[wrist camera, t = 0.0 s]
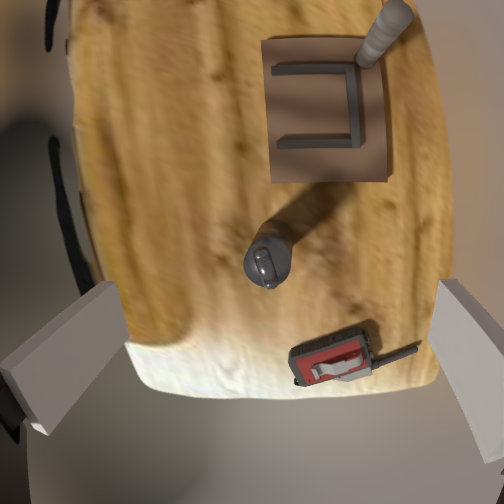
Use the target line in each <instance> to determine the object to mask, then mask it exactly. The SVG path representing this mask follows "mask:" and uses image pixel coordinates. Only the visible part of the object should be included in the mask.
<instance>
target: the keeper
mask: <svg viewBox="0 0 504 504" xmlns="http://www.w3.org/2000/svg"><path fill="white" fill-rule="evenodd" d="M381 1H382V5H383V8H382V10H381V11H380V13H379V15H378V16H377V18H376V20H375V22H374V23H373V25H372V27H371V28H370V30H369V32H368V33H367V35H366V37H365V39H357V38H324V37H318V38H284V39H269V40H261V50H262V62H263V74H264V87H265V100H266V114H267V128H268V143H269V158H270V174H271V184H274V183H306V182H388V178H387V139H386V121H385V108H384V96H383V86H382V77H381V69H380V61H379V58H380V57H381V56H382V54H383V53H384V52H385V51H386V50H387V49H388V48H389V47H390V45H391V44H392V43H393V42H394V41H395V40H396V39H397V38H398V37H399V35H400V34H401V33H402V32H403V31H404V30H405V29H406V28H407V27H408V25H409V24H410V23H411V22H412V21H413V19H414V13H413V11H412V9H411V8H410V6H409V5H407V4H406V3H405V2H403V0H381Z"/></svg>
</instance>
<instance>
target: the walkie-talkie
mask: <svg viewBox="0 0 504 504" xmlns="http://www.w3.org/2000/svg"><path fill="white" fill-rule="evenodd" d="M366 344H367V345H368V346H369V345H371V342H370V339H369V335H368V332H364V335H363V334H362V331H361V328H360V327H358V326H356V327H354V328H351V329H348V330H345V331H342V332H340V333H337V334H334V335H331V336H329V337H325V338H324V339H323V338H322V339H321V340H320V339H319V340H318V341H315V342H312V343H308V344H305V345H301V346H298V347H294V348H291V350H290V352H289V359H288V363H289V366H290V368H291V370H292V372H293V374H294V376H295V379H294V384H295V385H297V386H303V387H306V386H310V385H314V384H317V383H321V382H324V381H327V380H331V379H333V380H339V381H345V382H350V381H353V380H356V379H359V378H362V377H365V376H370V375H372V370H374V369H377V368H379V367H380V366H382V365H385V364H388V363H390V362H393V361H396V360H398V359H401V358H403V357H406V356H408V355H411V354H413V353H416V352H417V351H418V348H417V347H416V346H414V347H411V348H409V349H406V350H404V351H401V352H399V353H396V354H394V355H391V356H388V357H386V358H383V359H380V360H375V361H372V362H371V358H373V357H374V356H373V353H372V352H368V349H367V346H366ZM297 381H298V382H297Z"/></svg>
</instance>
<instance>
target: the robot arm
mask: <svg viewBox="0 0 504 504" xmlns="http://www.w3.org/2000/svg"><path fill="white" fill-rule="evenodd" d="M129 337H130V334H129V331H128V327H127V324H126V320H125V316H124V313H123V309H122V305H121V301H120V297H119V293H118V289H117V285H116V282H112V281H102V282H100V283H99V284H98V285H96V286H95V287H94V288H92V289H91V290H90V291H88V292H87V293H86V294H85V295H83V296H82V297H81V298H79V299H78V300H77V301H75V302H74V303H73V304H72V305H70V306H69V307H68V308H66V309H65V310H64V311H63V312H61V313H60V314H59V315H58V316H56V317H55V318H54V319H53V320H51V321H50V322H49V323H48V324H46V325H45V326H44V327H43V328H41V329H40V330H39V331H38V332H37V333H35V334H34V335H33V336H32V337H31V338H29V339H28V340H27V341H26V342H25V343H23V344H22V345H21V346H20V347H19V348H18V349H16V350H15V351H14V352H13V353H12V354H11V355H9V356H8V357H7V358H6V359H5V360H4V361H2V362H1V363H0V504H31V498H30V489H29V479H28V464H27V430H26V426H25V424H24V423H23V420H24V419H25V418H26V417H27V418H28V420H29V421H30V423H31V424H32V426H33V427H34V429H36V430H38V431H40V432H42V433H44V434H46V435H48V436H49V435H50V434H51V432H52V431H53V430H54V428H55V427H56V426H57V425H58V423H59V422H60V421H61V419H62V418H63V417H64V416H65V414H66V413H67V412H68V411H69V409H70V408H71V407H72V406H73V404H74V403H75V402H76V401H77V399H78V398H79V397H80V396H81V394H82V393H83V392H84V390H86V388H87V387H88V386H89V385H90V383H91V382H92V381H93V380H94V378H95V377H96V376H97V374H99V372H100V371H101V370H102V369H103V367H104V366H105V365H106V364H107V363H108V361H109V360H110V359H111V358H112V357H113V356H114V354H115V353H116V352H117V351H118V350H119V348H120V347H121V346H122V345H123V344H124V343H125V341H126V340H127V339H128V338H129ZM427 340H428V342H429V344H430V346H431V348H432V350H433V351H434V353H435V355H436V357H437V359H438V361H439V363H440V365H441V367H442V369H443V370H444V372H445V374H446V376H447V378H448V380H449V383H450V384H451V387H452V389H453V391H454V393H455V395H456V397H457V399H458V401H459V403H460V406H461V408H462V410H463V412H464V414H465V417H466V419H467V421H468V424H469V426H470V428H471V431H472V433H473V435H474V438H475V440H476V442H477V445H478V447H479V450H480V453H481V455H482V458H483V461H484V463H485V464H487V463H489V462H492V461H495V460H498V459H500V458H503V457H504V330H503V329H502V327H501V326H500V325H499V324H498V323H497V322H496V321H495V320H494V319H493V317H492V316H491V315H490V314H489V313H488V312H487V311H486V310H485V309H484V308H483V307H482V306H481V304H480V303H479V302H478V301H477V300H476V299H475V298H474V297H473V296H472V295H471V294H470V293H469V292H468V291H467V290H466V289H465V288H464V287H463V286H462V285H461V284H460V283H459V282H458V281H457V280H456V279H440V280H439V284H438V290H437V296H436V301H435V306H434V311H433V316H432V321H431V325H430V330H429V334H428V338H427ZM501 474H502V475H504V469H503V471H502V472H501ZM496 504H504V486H503V488H502V490H501V493H500V496H499V498H498V500H497V503H496Z"/></svg>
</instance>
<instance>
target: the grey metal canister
mask: <svg viewBox="0 0 504 504" xmlns="http://www.w3.org/2000/svg"><path fill="white" fill-rule="evenodd" d="M292 247H293V233H292V230H291V228H290V227H289V226H288V225H287V224H286V223H285V222H283V221H280V220H269V221H267V222H265V223H264V224H262V225H261V227H260V228H259V230H258V232H257V234H256V236H255V238H254V240H253V242H252V243H251V245H250V247H249V249H248V251H247V253H246V255H245V258H244V270H245V273H246V275H247V277H248V278H249V279H250V280H251V281H252V282H253V283H255V284H257V285H259V286H262V287H265V288H267V289H275V288H276V287H277V286H278V285H279V284H281V283H282V282H283V281H284V280H285V279H286V278H287V277H288V275H289V273H290V268H291V258H292Z"/></svg>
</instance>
